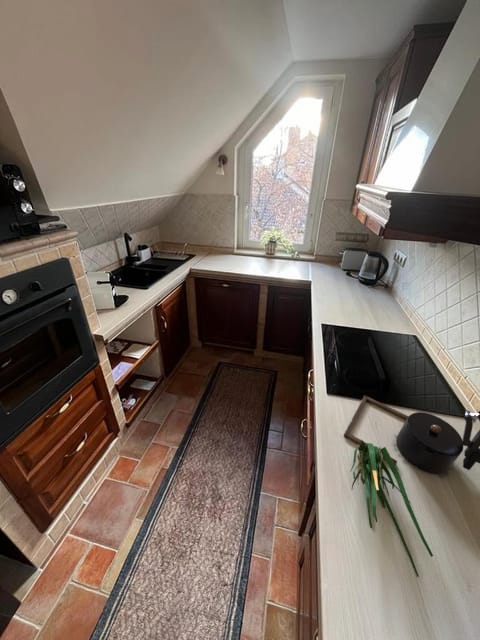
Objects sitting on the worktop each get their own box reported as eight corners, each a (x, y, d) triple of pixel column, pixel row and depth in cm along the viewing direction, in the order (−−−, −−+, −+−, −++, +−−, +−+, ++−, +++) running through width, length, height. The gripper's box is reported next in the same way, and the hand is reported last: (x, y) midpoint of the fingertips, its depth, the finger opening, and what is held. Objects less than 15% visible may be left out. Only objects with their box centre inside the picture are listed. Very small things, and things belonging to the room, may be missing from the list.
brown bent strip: (408, 419, 88) (410, 416, 88) (395, 466, 74) (396, 464, 73) (363, 397, 97) (364, 395, 96) (343, 435, 82) (344, 433, 81)
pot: (451, 446, 80) (469, 421, 74) (446, 488, 69) (467, 463, 63) (401, 421, 87) (414, 397, 82) (390, 456, 77) (404, 431, 71)
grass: (335, 465, 79) (330, 545, 56) (350, 426, 75) (352, 496, 52) (398, 494, 73) (422, 596, 50) (419, 454, 69) (455, 546, 46)
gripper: (478, 401, 60) (437, 460, 72) (556, 432, 53) (497, 492, 65) (478, 384, 65) (439, 442, 77) (549, 410, 58) (495, 469, 70)
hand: (466, 464), depth 71 cm, fingers closed
